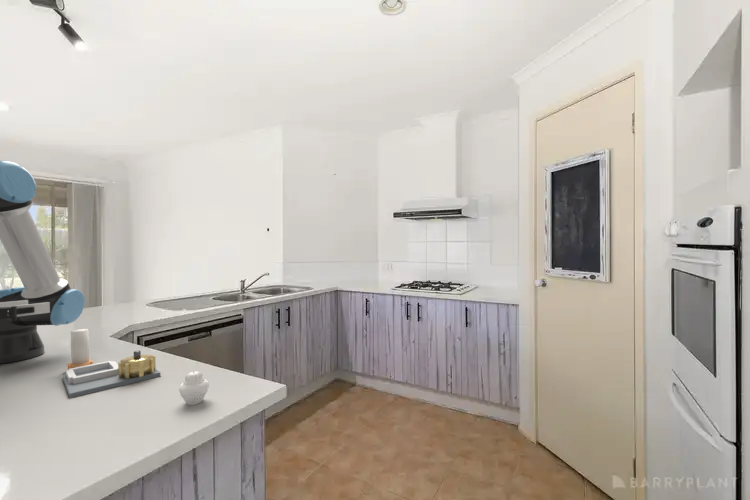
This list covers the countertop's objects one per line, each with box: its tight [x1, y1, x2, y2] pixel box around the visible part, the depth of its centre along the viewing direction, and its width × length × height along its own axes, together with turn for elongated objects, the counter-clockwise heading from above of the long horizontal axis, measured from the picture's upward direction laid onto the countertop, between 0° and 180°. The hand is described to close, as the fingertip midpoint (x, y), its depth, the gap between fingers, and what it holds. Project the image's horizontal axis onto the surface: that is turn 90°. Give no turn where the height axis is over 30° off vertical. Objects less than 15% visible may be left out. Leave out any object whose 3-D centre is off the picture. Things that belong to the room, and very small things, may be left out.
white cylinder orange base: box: [67, 328, 94, 370], centre depth 105 cm, size 6×6×12 cm
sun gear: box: [117, 350, 157, 379], centre depth 97 cm, size 8×8×6 cm
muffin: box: [178, 371, 210, 406], centre depth 80 cm, size 6×6×7 cm
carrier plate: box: [62, 360, 161, 399], centre depth 97 cm, size 18×19×2 cm
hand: (38, 306), depth 97 cm, fingers open, 13 cm apart
